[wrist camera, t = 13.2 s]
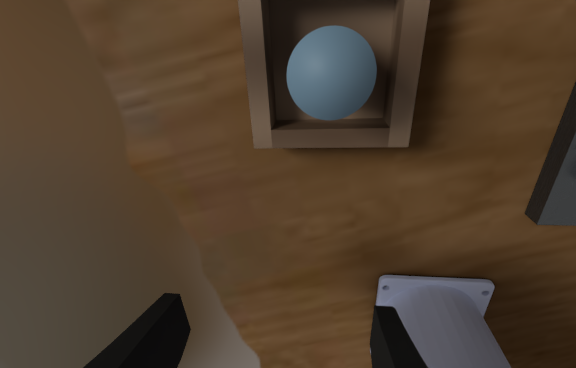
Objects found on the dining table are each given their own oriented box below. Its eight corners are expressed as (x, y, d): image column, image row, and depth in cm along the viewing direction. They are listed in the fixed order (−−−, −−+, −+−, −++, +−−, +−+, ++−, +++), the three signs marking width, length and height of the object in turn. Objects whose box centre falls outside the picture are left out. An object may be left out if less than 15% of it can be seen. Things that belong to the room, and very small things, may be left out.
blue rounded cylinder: (358, 89, 15) (375, 117, 10) (302, 94, 16) (291, 123, 11) (358, 25, 14) (378, 19, 9) (298, 33, 14) (281, 31, 9)
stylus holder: (396, 131, 17) (408, 147, 14) (263, 133, 18) (254, 148, 15) (418, -38, 13) (438, -53, 11) (248, -23, 14) (234, -35, 12)
